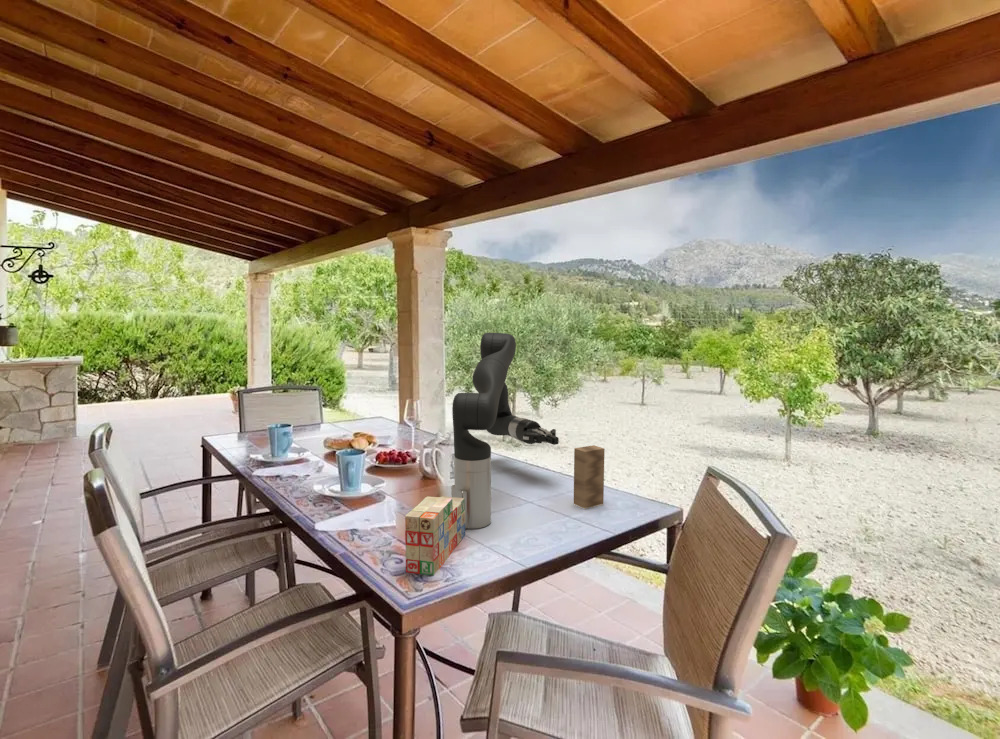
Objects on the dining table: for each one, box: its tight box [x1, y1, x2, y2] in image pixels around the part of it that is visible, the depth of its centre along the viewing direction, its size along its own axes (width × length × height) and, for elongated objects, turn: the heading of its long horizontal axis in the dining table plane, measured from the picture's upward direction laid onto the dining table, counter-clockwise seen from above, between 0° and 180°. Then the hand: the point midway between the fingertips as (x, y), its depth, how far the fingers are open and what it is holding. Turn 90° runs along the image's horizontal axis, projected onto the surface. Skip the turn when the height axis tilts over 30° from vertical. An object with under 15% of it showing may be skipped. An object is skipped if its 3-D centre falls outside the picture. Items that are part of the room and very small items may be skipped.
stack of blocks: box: [404, 495, 466, 576], centre depth 120 cm, size 21×6×12 cm, turn 166°
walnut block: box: [573, 445, 606, 510], centre depth 150 cm, size 7×4×16 cm, turn 121°
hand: (556, 441), depth 163 cm, fingers closed
